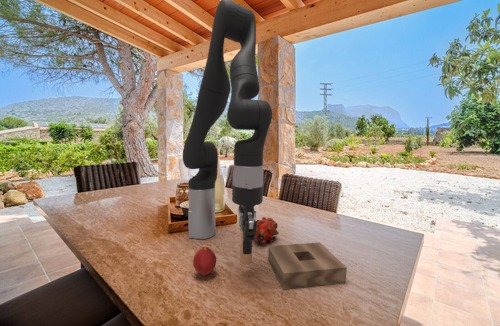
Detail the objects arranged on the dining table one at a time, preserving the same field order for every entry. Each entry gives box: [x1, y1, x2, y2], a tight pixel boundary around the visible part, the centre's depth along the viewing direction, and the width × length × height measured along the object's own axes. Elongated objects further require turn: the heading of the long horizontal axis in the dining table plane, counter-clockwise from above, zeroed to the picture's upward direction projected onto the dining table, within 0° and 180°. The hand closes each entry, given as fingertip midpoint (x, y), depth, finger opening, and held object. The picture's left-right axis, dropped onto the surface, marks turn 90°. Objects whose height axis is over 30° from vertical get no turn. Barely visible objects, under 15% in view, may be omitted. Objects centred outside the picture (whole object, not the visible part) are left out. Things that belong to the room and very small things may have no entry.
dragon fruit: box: [255, 217, 280, 245], centre depth 82 cm, size 8×8×12 cm
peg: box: [239, 225, 253, 266], centre depth 61 cm, size 3×3×10 cm
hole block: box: [267, 241, 348, 290], centre depth 64 cm, size 16×14×4 cm
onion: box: [192, 245, 217, 276], centre depth 62 cm, size 6×6×8 cm
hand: (246, 249), depth 61 cm, fingers closed on peg, 3 cm apart
